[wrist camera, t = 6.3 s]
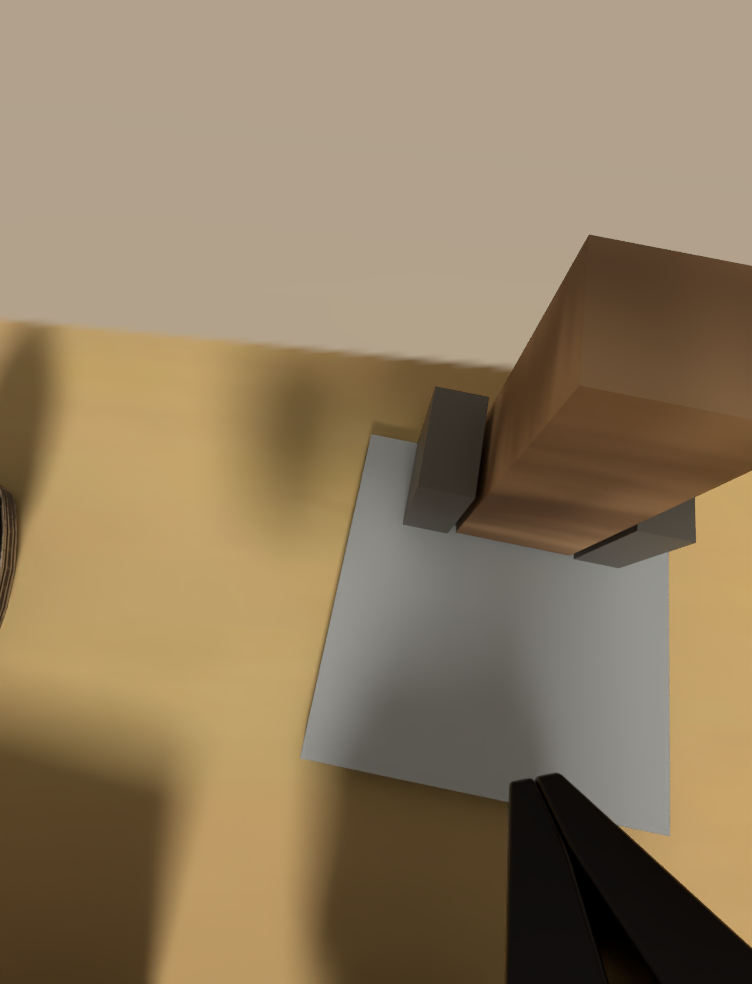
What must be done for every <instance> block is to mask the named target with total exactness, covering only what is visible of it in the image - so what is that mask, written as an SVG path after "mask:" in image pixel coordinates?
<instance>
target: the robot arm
mask: <svg viewBox="0 0 752 984" xmlns="http://www.w3.org/2000/svg"><path fill="white" fill-rule="evenodd" d="M504 984H752V948H751V947H750V946H749V945H748V944H747V943H746V942H745V941H744V940H743V939H741V938H740V937H739V936H738V935H737V934H736V933H735V932H734V931H733V930H732V929H731V928H729V927H728V926H727V925H726V924H725V923H724V922H723V921H722V920H721V919H720V918H718V917H717V916H716V915H715V914H714V913H713V912H712V911H711V910H710V909H709V908H707V907H706V906H705V905H704V904H703V903H702V902H701V901H700V900H699V899H698V898H697V897H695V896H694V895H693V894H692V893H691V892H690V891H689V890H688V889H687V888H686V887H684V886H683V885H682V884H681V883H680V882H679V881H678V880H677V879H676V878H675V877H674V876H672V875H671V874H670V873H669V872H668V871H667V870H666V869H665V868H664V867H663V866H661V865H660V864H659V863H658V862H657V861H656V860H655V859H654V858H653V857H652V856H650V855H649V854H648V853H647V852H646V851H645V850H644V849H643V848H642V847H641V846H640V845H638V844H637V843H636V842H635V841H634V840H633V839H632V838H631V837H630V836H629V835H627V834H626V833H625V832H624V831H623V830H622V829H621V828H620V827H619V826H618V825H617V824H615V823H614V822H613V821H612V820H611V819H610V818H609V817H608V816H607V815H606V814H604V813H603V812H602V811H601V810H600V809H599V808H598V807H597V806H596V805H595V804H593V803H592V802H591V801H590V800H589V799H588V798H587V797H586V796H585V795H584V794H583V793H581V792H580V791H579V790H578V789H577V788H576V787H575V786H574V785H573V784H572V783H570V782H569V781H568V780H567V779H566V778H565V777H564V776H563V775H561V774H560V773H550V774H545V775H540V776H537V777H536V778H535V781H534V780H533V779H532V778H525V779H520V780H515V781H512V782H510V784H509V803H508V848H507V892H506V937H505V981H504Z"/></svg>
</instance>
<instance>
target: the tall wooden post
mask: <svg viewBox="0 0 752 984" xmlns="http://www.w3.org/2000/svg"><path fill="white" fill-rule="evenodd" d="M750 471H752V266H749V265H744V264H739V263H734V262H728V261H723V260H718V259H713V258H708V257H703V256H697V255H692V254H687V253H681V252H676V251H671V250H666V249H661V248H655V247H651V246H645V245H639V244H635V243H630V242H625V241H619V240H614V239H609V238H603V237H598V236H593V235H589V236H588V237H587V239H586V241H585V243H584V244H583V246H582V248H581V250H580V252H579V253H578V255H577V257H576V259H575V260H574V262H573V264H572V266H571V268H570V269H569V271H568V273H567V275H566V276H565V278H564V280H563V282H562V284H561V285H560V287H559V289H558V291H557V292H556V294H555V296H554V298H553V300H552V301H551V303H550V305H549V307H548V308H547V310H546V312H545V314H544V315H543V317H542V319H541V321H540V322H539V324H538V326H537V328H536V330H535V331H534V334H533V335H532V337H531V338H530V340H529V342H528V344H527V346H526V347H525V349H524V351H523V353H522V355H521V356H520V358H519V360H518V361H517V363H516V365H515V367H514V369H513V370H512V372H511V374H510V376H509V377H508V379H507V381H506V383H505V385H504V386H503V388H502V390H501V392H500V393H499V395H498V397H497V399H496V400H495V402H494V404H493V406H492V408H491V409H490V411H489V413H488V415H487V416H486V422H485V429H484V437H483V444H482V452H481V459H480V467H479V474H478V481H477V489H476V496H475V499H474V500H473V502H472V503H471V504H470V506H469V507H468V508H467V509H466V511H465V512H464V513H463V514H462V516H461V517H460V518H459V520H458V521H457V527H456V533H461V534H465V535H470V536H475V537H480V538H485V539H490V540H495V541H500V542H505V543H510V544H515V545H520V546H525V547H530V548H535V549H539V550H544V551H549V552H554V553H559V554H564V555H569V556H570V555H572V554H574V553H576V552H579V551H581V550H583V549H585V548H587V547H589V546H591V545H594V544H596V543H598V542H600V541H602V540H604V539H606V538H609V537H611V536H613V535H615V534H617V533H619V532H621V531H624V530H626V529H628V528H630V527H632V526H634V525H636V524H638V523H641V522H643V521H645V520H647V519H649V518H651V517H653V516H656V515H658V514H660V513H662V512H664V511H666V510H668V509H671V508H673V507H675V506H677V505H679V504H681V503H683V502H686V501H688V500H690V499H692V498H694V497H696V496H698V495H701V494H703V493H705V492H707V491H709V490H711V489H713V488H716V487H718V486H720V485H722V484H724V483H726V482H728V481H730V480H733V479H735V478H737V477H739V476H741V475H743V474H745V473H748V472H750Z"/></svg>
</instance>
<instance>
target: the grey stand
mask: <svg viewBox="0 0 752 984" xmlns="http://www.w3.org/2000/svg"><path fill="white" fill-rule="evenodd" d="M488 400H489V397H486V396H481V395H476V394H470V393H465V392H460V391H455V390H450V389H445V388H440V387H435V390H434V393H433V396H432V399H431V402H430V406H429V409H428V412H427V415H426V418H425V422H424V425H423V428H422V431H421V434H420V437H419V441H418V443H414V442H409V441H404V440H399V439H394V438H389V437H384V436H379V435H374V434H371V438H370V443H369V447H368V452H367V456H366V461H365V465H364V470H363V474H362V479H361V483H360V488H359V493H358V497H357V502H356V506H355V511H354V515H353V520H352V524H351V529H350V533H349V538H348V543H347V547H346V552H345V556H344V561H343V565H342V570H341V574H340V579H339V583H338V588H337V592H336V597H335V602H334V606H333V611H332V615H331V620H330V624H329V629H328V633H327V638H326V642H325V647H324V652H323V656H322V661H321V665H320V670H319V674H318V679H317V683H316V688H315V692H314V697H313V702H312V706H311V711H310V715H309V720H308V724H307V729H306V733H305V738H304V742H303V747H302V752H301V756H300V758H301V759H306V760H310V761H315V762H320V763H325V764H329V765H334V766H339V767H344V768H348V769H353V770H358V771H362V772H367V773H372V774H377V775H381V776H386V777H391V778H396V779H400V780H405V781H410V782H415V783H419V784H424V785H429V786H434V787H438V788H443V789H448V790H453V791H457V792H462V793H467V794H472V795H476V796H481V797H486V798H490V799H495V800H500V801H505V802H509V784H510V782H512V781H515V780H520V779H525V778H532V779H533V780H534V781H535V778H536V777H537V776H540V775H545V774H550V773H560V774H561V775H563V776H564V777H565V778H566V779H567V780H568V781H569V782H570V783H572V784H573V785H574V786H575V787H576V788H577V789H578V790H579V791H580V792H581V793H583V794H584V795H585V796H586V797H587V798H588V799H589V800H590V801H591V802H592V803H593V804H595V805H596V806H597V807H598V808H599V809H600V810H601V811H602V812H603V813H604V814H606V815H607V816H608V817H609V818H610V819H611V820H612V821H613V822H614V823H615V824H617V825H618V826H623V827H628V828H633V829H637V830H642V831H647V832H652V833H656V834H661V835H666V836H670V744H669V551H672V550H675V549H678V548H681V547H684V546H687V545H690V544H693V543H696V528H695V497H694V498H692V499H690V500H688V501H686V502H683V503H681V504H679V505H677V506H675V507H673V508H671V509H668V510H666V511H664V512H662V513H660V514H658V515H656V516H653V517H651V518H649V519H647V520H645V521H643V522H641V523H638V524H636V525H634V526H632V527H630V528H628V529H626V530H624V531H621V532H619V533H617V534H615V535H613V536H611V537H609V538H606V539H604V540H602V541H600V542H598V543H596V544H594V545H591V546H589V547H587V548H585V549H583V550H581V551H579V552H576V553H574V554H572V555H570V556H569V555H564V554H559V553H554V552H549V551H544V550H539V549H535V548H530V547H525V546H520V545H515V544H510V543H505V542H500V541H495V540H490V539H485V538H480V537H475V536H470V535H465V534H461V533H456V527H457V521H458V520H459V518H460V517H461V516H462V514H463V513H464V512H465V511H466V509H467V508H468V507H469V506H470V504H471V503H472V502H473V500H474V499H475V496H476V489H477V481H478V474H479V467H480V459H481V452H482V444H483V437H484V429H485V422H486V415H487V407H488Z"/></svg>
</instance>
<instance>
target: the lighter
mask: <svg viewBox="0 0 752 984" xmlns="http://www.w3.org/2000/svg"><path fill="white" fill-rule="evenodd" d="M16 547H17V521H16V506H15V500H14V497H13V494H12V493H11V492H10V491H9V490H8V489H6V488H4V487H2V486H0V627H1V624H2V621H3V618H4V615H5V612H6V609H7V605H8V600H9V596H10V591H11V586H12V582H13V577H14V572H15V563H16Z"/></svg>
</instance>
